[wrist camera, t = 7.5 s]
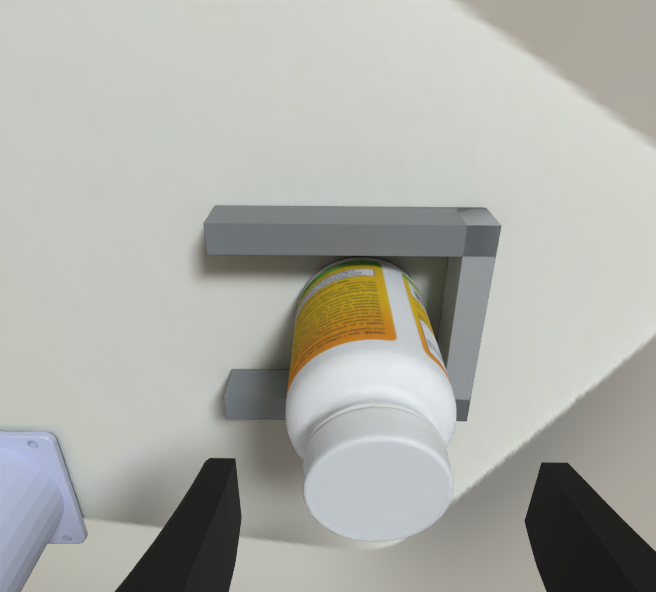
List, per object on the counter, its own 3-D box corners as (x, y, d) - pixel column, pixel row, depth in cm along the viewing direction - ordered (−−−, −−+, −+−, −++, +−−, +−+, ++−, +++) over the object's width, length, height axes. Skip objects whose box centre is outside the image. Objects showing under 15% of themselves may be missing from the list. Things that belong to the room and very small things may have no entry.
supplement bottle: (277, 334, 22) (243, 525, 14) (331, 231, 20) (331, 384, 11) (383, 378, 23) (413, 580, 15) (446, 286, 21) (524, 462, 13)
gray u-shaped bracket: (233, 390, 24) (226, 418, 22) (215, 205, 20) (203, 223, 18) (456, 391, 24) (466, 421, 22) (485, 207, 19) (501, 225, 18)
